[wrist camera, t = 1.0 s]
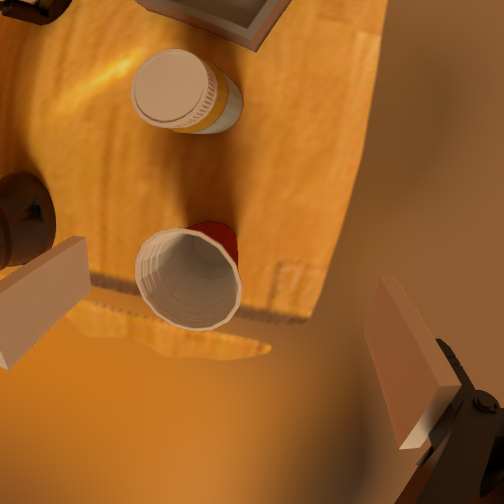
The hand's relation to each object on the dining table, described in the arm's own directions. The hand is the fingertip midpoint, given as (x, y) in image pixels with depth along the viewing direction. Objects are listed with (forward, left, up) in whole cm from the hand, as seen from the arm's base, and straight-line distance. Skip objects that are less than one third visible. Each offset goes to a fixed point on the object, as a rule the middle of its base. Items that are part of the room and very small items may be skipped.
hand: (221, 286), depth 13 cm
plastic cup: (-2, -9, -26) cm, 27 cm away
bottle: (-10, +6, -26) cm, 28 cm away
